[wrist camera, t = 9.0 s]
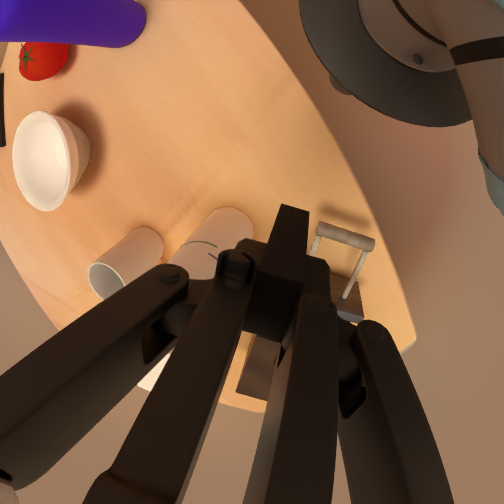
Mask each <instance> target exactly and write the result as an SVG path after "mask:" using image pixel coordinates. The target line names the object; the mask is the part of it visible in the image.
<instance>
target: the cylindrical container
mask: <svg viewBox="0 0 504 504" xmlns="http://www.w3.org/2000/svg"><path fill="white" fill-rule="evenodd" d="M253 237H254V229H253V225H252V223H251V221H250V219H249V218H248V216H247V215H245V214H244V213H243V212H242V211H240V210H238V209H236V208H232V207H222V208H219V209H216V210H215V211H213V212H212V213H211V214H210V215H209V216H208V217H207V218H206V219H205V220H204V221H203V223H202V224H201V225H200V226H199V227H198V228H197V229H196V230H195V232H194V233H193V234H192V235H191V236H190V237H189V238H188V239H187V241H186V242H185V243H184V244H183V245H182V246H181V247H180V248H179V250H178V251H177V252H176V253H175V254H174V255H173V257H172V258H171V259H170V260H169V261H168V262H167V264H175V265H178V266H181V267H183V268H184V269H185V270H187V272H188V274H189V279H198V280H207V279H212V278H214V276H215V271H216V265H217V259H218V254H219V253H220V252H221V251H223V250H227V249H235V247H236V245H237V243H238V242H239V241H241V240H243V239H245V238H248V239H252V240H253ZM173 349H174V348H173ZM173 349H172V350H171V351H170V352H169V353H168V354H167V355H166V356H165V357H164V358H163V359H162V360H161V361H160V362H159V363H158V364H157V365H156V366H155V367H154V368H153V369H152V370H151V371H150V372H149V373H148V374H147V375H146V376H145V377H144V378H143V379H142V380H141V381H140V382H139V383H138V384H137V385H138V386H140V387H142V388H144V389H146V390H148V391H151V390H152V388H153V386H154V384H155V382H156V381H157V379H158V377H159V375H160V373H161V371H162V369H163V368H164V366H165V364H166V362H167V360H168V358H169V357H170V355H171V353H172V351H173Z"/></svg>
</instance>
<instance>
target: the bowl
mask: <svg viewBox="0 0 504 504" xmlns="http://www.w3.org/2000/svg"><path fill="white" fill-rule="evenodd" d="M90 151H91V149H90V143H89V139H88V137H87V135H86V133H85V132H84V130H83V129H82V128H80V127H78V126H76V125H75V124H74V123H72V122H71V121H69V120H67V119H66V118H64V117H60V116H55V115H51V114H50V113H48V112H46V111H42V110H39V111H34V112H32V113H30V114H28V115H27V116H26V117H25V118H24V119H23V120H22V122H21V123H20V125H19V127H18V129H17V131H16V134H15V137H14V142H13V150H12V160H13V169H14V174H15V177H16V181H17V183H18V186H19V188H20V190H21V192H22V194H23V196H24V197H25V198H26V200H27V201H28V202H29V203H30V204H31V205H32V206H33V207H35V208H37V209H38V210H41V211H52V210H55V209H56V208H58V207H59V206H60V205H61V204H62V202H63V201H64V200H65V198H66V195H67V194H68V193H69V192H70V191H71V190H72V189H73V188H74V187H75V186H76V184H77V183H78V181H79V180H80V178H81V176H82V174H83V171H84V170H85V168H86V167H87V165H88V163H89V160H90Z"/></svg>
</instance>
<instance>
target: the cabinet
mask: <svg viewBox="0 0 504 504" xmlns="http://www.w3.org/2000/svg"><path fill="white" fill-rule="evenodd" d="M281 344H282V339H281V341H277V340H274V339H270V338H267V337H263V336H260V335H256V334H254V335H253V338H252V340H251V343H250V346H249V349H248V352H247V355H246V359H245V362H244V365H243V369H242V372H241V375H240V379H239V382H238V385H237V389H236V393H240V394H243V395H247V396H250V397H254V398H257V399H261V400H265V401H268V397H269V393H270V388H271V383H272V379H273V374H274V369H275V365H273V362H274V360H275V357H276V355H277V353H278V350H279V348H280V346H281Z"/></svg>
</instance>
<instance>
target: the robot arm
mask: <svg viewBox="0 0 504 504" xmlns="http://www.w3.org/2000/svg"><path fill="white" fill-rule="evenodd" d="M357 7H358V14H359V18H360V21H361V23H362V25H363V27H364V29H365V31H366V33H367V34H368V36H369V37H370V39H371V40H372V41H373V42H374V44H375V45H376V46H377V47H378V48H379V49H380V50H381V51H382V52H383V53H385V54H386V55H387V56H388V57H390V58H391V59H393V60H394V61H396V62H397V63H399V64H401V65H403V66H405V67H407V68H409V69H412V70H415V71H419V72H423V73H441V72H446V71H450V70H452V69H455V68H456V70H457V72H458V75H459V78H460V81H461V84H462V86H463V89H464V92H465V95H466V99H467V102H468V105H469V109H470V112H471V116H472V119H473V123H474V128H475V132H476V137H477V142H478V146H479V147H478V154H479V159H480V161H481V163H482V165H483V169H484V174H485V179H486V185H487V190H488V193H489V196H490V198H491V200H492V202H493V203H494V205H495V206H496V207H497V208H498V209H499V210H500V212H501V213H502V214H503V215H504V0H357ZM308 225H309V211H305V210H302V209H298V208H295V207H292V206H288V205H285V204H281V206H280V209H279V212H278V215H277V217H276V220H275V223H274V226H273V229H272V232H271V234H270V237H269V240H268V243H267V244H266V243H262V242H259V241H255V240H252V239H248V238H245V239H243V240H241V241H239V242H238V243H237V245H236V247H235V249H227V250H223V251H221V252H220V253H219V254H218V259H217V265H216V271H215V276H214V278H212V279H207V280H198V279H189V274H188V272H187V270H185V269H184V268H183V267H181V266H178V265H175V264H160V265H157V266H155V267H153V268H152V269H150V270H148V271H147V272H145V273H144V274H142V275H141V276H139V277H138V278H136V279H135V280H133V281H132V282H130V283H129V284H127V285H126V286H124V287H123V288H121V289H120V290H118V291H117V292H115V293H114V294H112V295H111V296H110V297H108V298H107V299H105V300H104V301H102V302H101V303H99V304H98V305H96V306H95V307H94V308H92V309H91V310H89V311H88V312H86V313H85V314H83V315H82V316H81V317H79V318H78V319H76V320H75V321H74V322H72V323H71V324H69V325H68V326H67V327H65V328H64V329H62V330H61V331H60V332H58V333H57V334H56V335H54V336H53V337H51V338H50V339H49V340H47V341H46V342H44V343H43V344H42V345H40V346H39V347H38V348H36V349H35V350H34V351H32V352H31V353H30V354H28V355H27V356H26V357H24V358H23V359H22V360H20V361H19V362H18V363H16V364H15V365H14V366H13V367H11V368H10V369H9V370H7V371H6V372H5V373H4V374H2V375H1V376H0V504H19V499H18V497H17V495H16V494H15V491H16V490H19V489H22V488H24V487H26V486H28V485H30V484H31V483H33V482H35V481H36V480H37V479H39V478H40V477H41V476H42V475H44V474H45V473H46V472H47V471H48V470H49V469H50V468H51V467H53V466H54V465H55V464H56V463H57V462H58V461H59V460H60V459H61V458H62V457H63V456H64V455H65V454H66V453H67V452H68V451H69V450H70V449H71V448H72V447H73V446H74V445H75V444H76V443H77V442H79V440H80V439H82V438H83V437H84V436H85V435H86V434H87V433H88V432H89V431H90V430H91V429H92V428H93V427H94V426H95V425H96V424H97V423H98V422H99V421H100V420H101V419H102V418H103V417H104V416H105V415H106V414H107V413H108V412H109V411H110V410H111V409H112V408H113V407H114V406H116V405H117V404H118V403H119V402H120V401H121V400H122V398H124V397H125V396H126V394H128V393H129V392H130V391H131V390H132V389H133V388H134V387H135V386H136V385H137V384H138V383H139V382H140V381H141V380H142V379H143V378H144V377H145V376H146V375H147V374H148V373H149V372H150V371H151V370H152V369H153V368H154V367H155V366H156V365H157V364H158V363H159V362H160V361H161V360H162V359H163V358H164V357H165V356H166V355H167V354H168V353H169V352H170V351H171V350H172V349H173V348H174V349H173V351H172V353H171V355H170V357H169V358H168V360H167V362H166V364H165V366H164V368H163V369H162V371H161V373H160V375H159V377H158V379H157V381H156V382H155V384H154V386H153V388H152V390H151V392H150V394H149V396H148V397H147V399H146V401H145V403H144V405H143V407H142V409H141V411H140V413H139V414H138V416H137V418H136V420H135V422H134V424H133V426H132V428H131V430H130V432H129V434H128V435H127V437H126V439H125V441H124V443H123V445H122V447H121V449H120V451H119V453H118V455H117V457H116V459H115V461H114V463H113V464H112V466H111V467H110V468H109V469H108V470H107V471H105V472H103V473H101V474H100V475H99V476H98V477H97V479H95V481H94V483H93V484H92V486H91V488H90V489H89V491H88V493H87V495H86V497H85V499H84V501H83V503H82V504H182V501H183V498H184V495H185V493H186V490H187V487H188V485H189V482H190V479H191V476H192V473H193V471H194V468H195V465H196V462H197V460H198V457H199V454H200V451H201V449H202V446H203V443H204V440H205V437H206V435H207V431H208V429H209V426H210V423H211V420H212V417H213V415H214V412H215V409H216V406H217V403H218V400H219V398H220V395H221V392H222V389H223V386H224V383H225V380H226V377H227V374H228V372H229V369H230V366H231V363H232V360H233V357H234V354H235V351H236V348H237V345H238V342H239V339H240V335H241V332H242V330H243V331H246V332H249V333H253V334H256V335H260V336H263V337H267V338H270V339H274V340H277V341H281V339H282V337H283V340H282V344H281V346H280V348H279V350H278V353H277V355H276V357H275V360H274V362H273V365H275V369H274V374H273V379H272V383H271V388H270V393H269V397H268V402H267V407H266V411H265V416H264V420H263V424H262V428H261V433H260V437H259V441H258V446H257V450H256V454H255V458H254V462H253V466H252V470H251V473H250V477H249V481H248V485H247V489H246V492H245V496H244V500H243V504H331V501H332V492H333V483H334V472H335V459H336V446H337V432H338V436H339V441H340V446H341V451H342V456H343V461H344V466H345V472H346V477H347V482H348V488H349V492H350V499H351V504H454V501H453V497H452V493H451V490H450V486H449V483H448V479H447V476H446V473H445V469H444V466H443V463H442V460H441V457H440V454H439V451H438V448H437V445H436V442H435V439H434V437H433V434H432V431H431V428H430V426H429V423H428V420H427V418H426V415H425V413H424V410H423V408H422V405H421V402H420V400H419V397H418V395H417V392H416V390H415V388H414V385H413V383H412V381H411V378H410V376H409V374H408V371H407V369H406V367H405V365H404V362H403V360H402V358H401V356H400V353H399V351H398V349H397V347H396V345H395V343H394V341H393V338H392V336H391V334H390V333H389V331H388V330H387V329H386V328H385V327H384V326H383V325H382V324H380V323H378V322H376V321H372V320H362V321H361V322H359V323H358V325H357V326H355V325H353V324H351V323H349V322H347V321H345V320H344V319H342V318H341V317H340V316H338V314H337V308H336V305H335V304H334V303H333V301H332V300H331V287H330V267H329V266H328V264H327V263H326V261H325V260H323V259H320V258H317V257H313V256H310V255H306V252H307V239H308Z"/></svg>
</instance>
